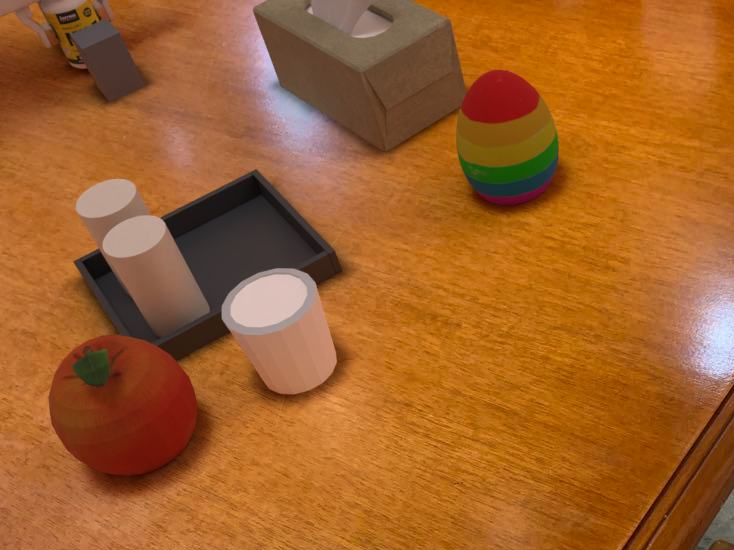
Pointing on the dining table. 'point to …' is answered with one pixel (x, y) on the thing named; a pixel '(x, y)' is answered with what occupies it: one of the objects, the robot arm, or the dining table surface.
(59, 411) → the fruit
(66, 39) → the supplement bottle
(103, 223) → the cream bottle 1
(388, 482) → the dining table surface
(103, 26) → the grey block right
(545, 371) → the dining table surface
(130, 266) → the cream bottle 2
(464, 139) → the decorative egg
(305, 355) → the white cup
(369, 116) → the tissue box
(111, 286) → the tray
